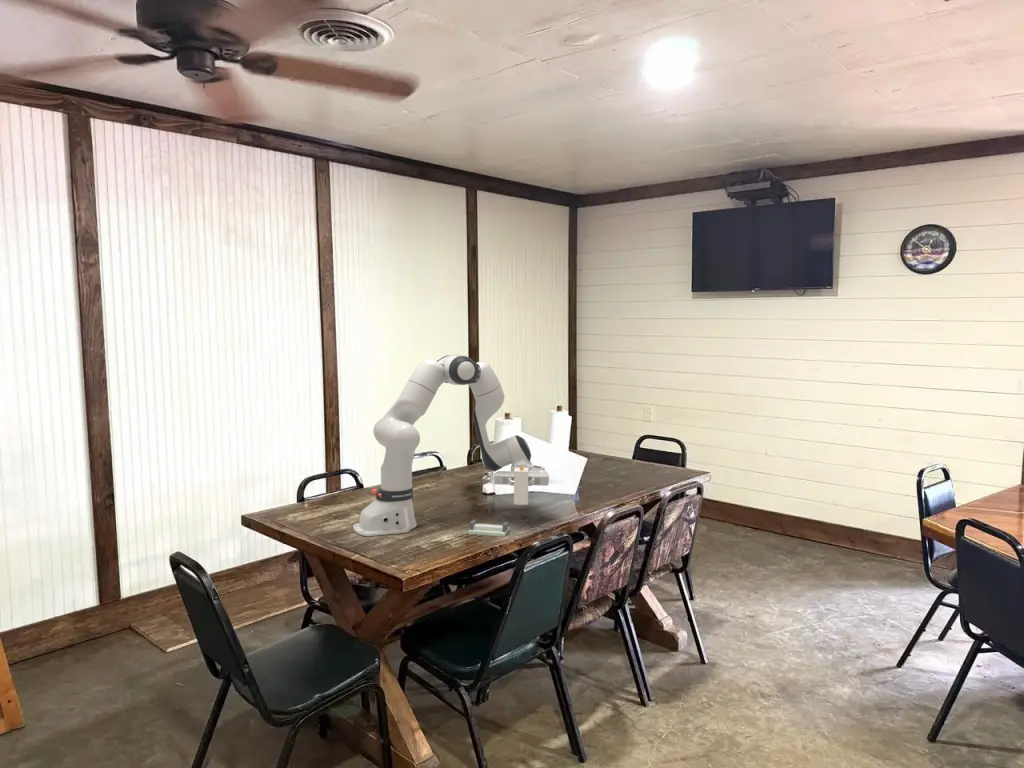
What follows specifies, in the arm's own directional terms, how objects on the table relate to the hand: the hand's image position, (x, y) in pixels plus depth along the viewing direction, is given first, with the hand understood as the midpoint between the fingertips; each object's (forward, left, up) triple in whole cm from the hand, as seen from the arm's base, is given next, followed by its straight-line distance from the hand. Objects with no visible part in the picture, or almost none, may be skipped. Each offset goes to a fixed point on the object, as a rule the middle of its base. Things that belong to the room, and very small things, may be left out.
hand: (521, 483), depth 249 cm
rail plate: (-13, +1, -16) cm, 20 cm away
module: (0, +1, -7) cm, 7 cm away
